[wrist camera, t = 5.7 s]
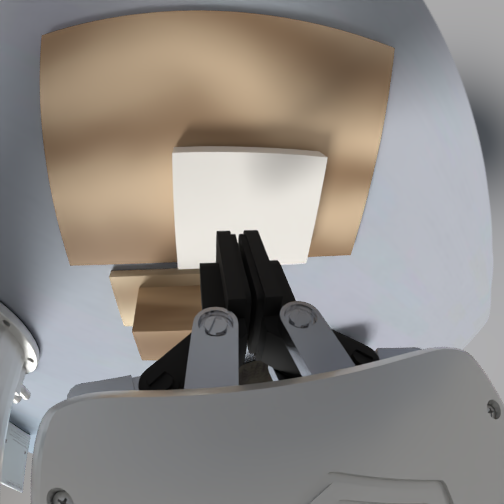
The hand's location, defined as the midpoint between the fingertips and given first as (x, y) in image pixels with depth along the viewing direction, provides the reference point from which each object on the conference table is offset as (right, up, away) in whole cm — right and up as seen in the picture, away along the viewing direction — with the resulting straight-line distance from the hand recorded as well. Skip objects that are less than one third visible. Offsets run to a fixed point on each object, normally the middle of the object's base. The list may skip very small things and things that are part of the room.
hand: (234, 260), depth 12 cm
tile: (-3, +3, +3) cm, 5 cm away
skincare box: (-49, -36, +22) cm, 65 cm away
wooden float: (-4, -3, +9) cm, 10 cm away
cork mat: (-1, +6, +3) cm, 7 cm away
